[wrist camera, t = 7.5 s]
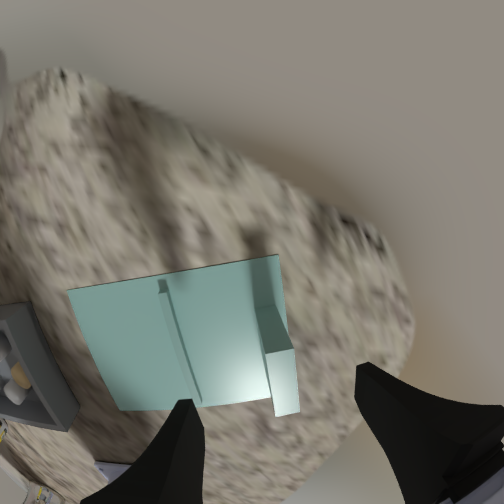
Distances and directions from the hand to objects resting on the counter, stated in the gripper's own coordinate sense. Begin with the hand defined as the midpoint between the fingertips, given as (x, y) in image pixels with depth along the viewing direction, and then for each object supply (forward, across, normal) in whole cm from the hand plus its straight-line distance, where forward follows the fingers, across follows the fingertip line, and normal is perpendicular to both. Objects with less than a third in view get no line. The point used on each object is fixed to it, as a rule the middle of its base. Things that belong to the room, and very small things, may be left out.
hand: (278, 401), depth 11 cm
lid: (+6, +5, 0) cm, 8 cm away
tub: (+5, +21, 0) cm, 21 cm away
